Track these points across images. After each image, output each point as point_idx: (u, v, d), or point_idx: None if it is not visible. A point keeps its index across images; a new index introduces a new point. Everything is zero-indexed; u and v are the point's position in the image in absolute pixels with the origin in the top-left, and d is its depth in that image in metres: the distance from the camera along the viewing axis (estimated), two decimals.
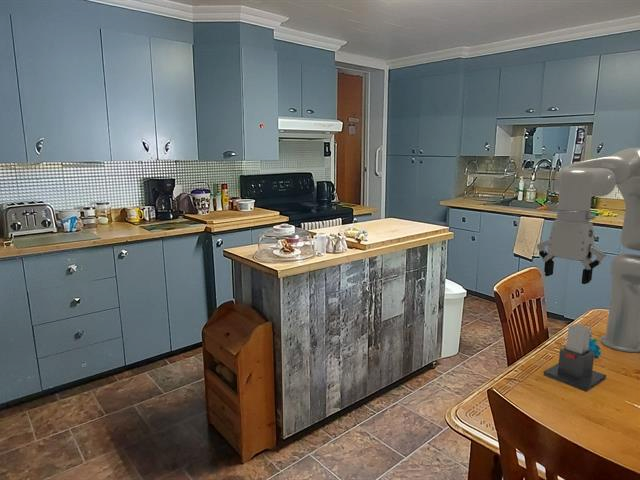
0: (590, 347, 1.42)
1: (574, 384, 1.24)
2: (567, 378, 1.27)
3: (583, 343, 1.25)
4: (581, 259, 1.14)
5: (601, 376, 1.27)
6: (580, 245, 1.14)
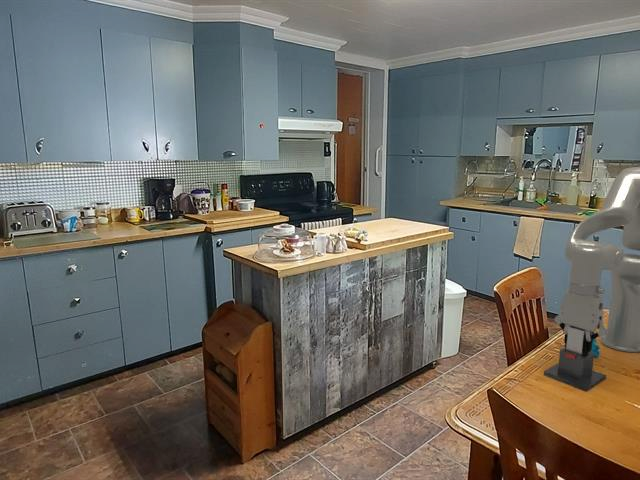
0: None
1: (574, 384, 1.24)
2: (567, 378, 1.27)
3: (583, 343, 1.25)
4: (592, 330, 1.22)
5: (601, 376, 1.27)
6: (591, 317, 1.22)
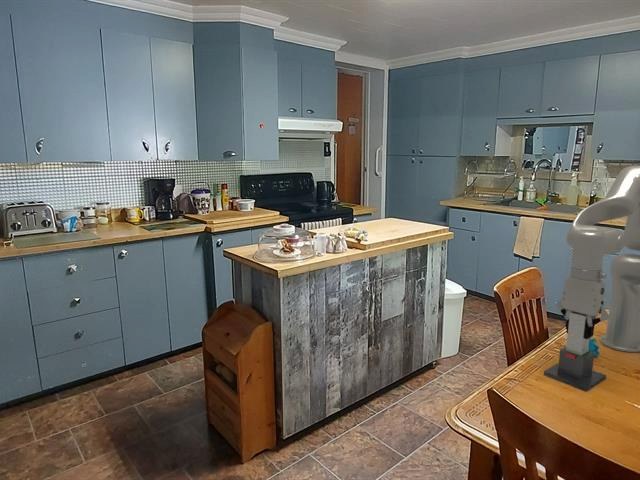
0: None
1: (574, 384, 1.24)
2: (567, 378, 1.27)
3: None
4: (593, 315, 1.22)
5: (601, 376, 1.27)
6: (592, 302, 1.21)
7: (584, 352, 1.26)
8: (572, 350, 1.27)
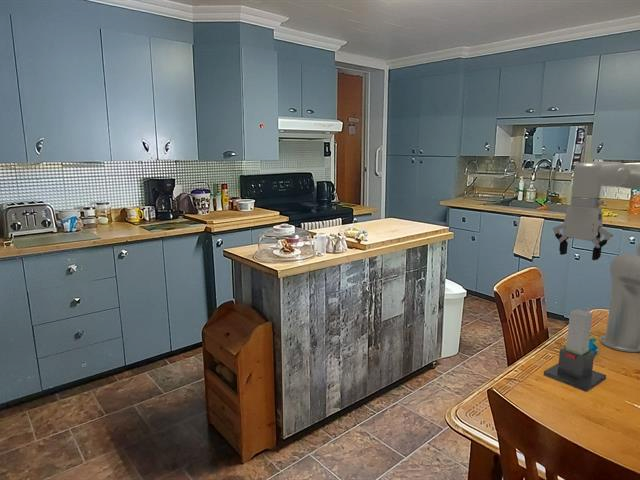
0: None
1: (574, 384, 1.24)
2: (567, 378, 1.27)
3: (585, 328, 1.24)
4: (592, 239, 1.34)
5: (601, 376, 1.27)
6: (591, 227, 1.34)
7: (584, 352, 1.26)
8: (572, 350, 1.27)
